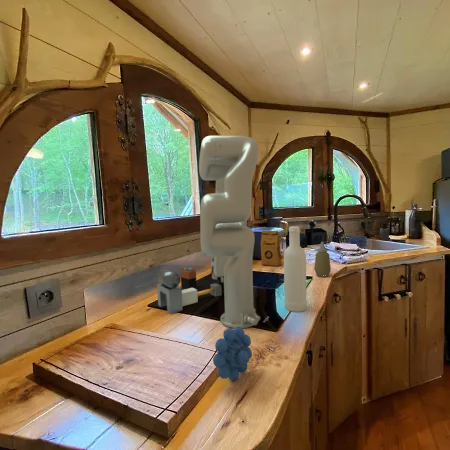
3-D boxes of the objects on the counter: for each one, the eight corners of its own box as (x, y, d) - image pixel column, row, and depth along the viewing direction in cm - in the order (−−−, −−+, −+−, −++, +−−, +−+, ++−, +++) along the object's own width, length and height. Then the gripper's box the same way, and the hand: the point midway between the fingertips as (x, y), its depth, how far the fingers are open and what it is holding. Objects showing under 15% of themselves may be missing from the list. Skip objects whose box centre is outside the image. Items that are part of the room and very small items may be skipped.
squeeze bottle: (313, 277, 136) (313, 242, 135) (314, 273, 144) (314, 240, 143) (330, 278, 133) (330, 243, 132) (330, 274, 141) (330, 240, 139)
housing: (183, 310, 99) (181, 272, 98) (169, 314, 95) (167, 275, 94) (170, 302, 108) (168, 267, 107) (157, 305, 104) (155, 269, 103)
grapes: (230, 403, 51) (228, 343, 50) (207, 387, 56) (205, 332, 55) (265, 374, 60) (264, 323, 59) (242, 362, 64) (241, 315, 63)
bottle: (287, 302, 103) (285, 225, 100) (308, 305, 99) (307, 225, 97) (282, 310, 95) (280, 227, 93) (304, 313, 92) (303, 227, 90)
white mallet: (221, 295, 114) (221, 283, 113) (179, 307, 102) (179, 294, 101) (216, 292, 117) (215, 281, 117) (175, 304, 105) (174, 291, 105)
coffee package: (277, 267, 160) (276, 231, 158) (259, 265, 167) (258, 231, 165) (283, 264, 168) (283, 230, 166) (265, 262, 175) (265, 229, 173)
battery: (189, 291, 120) (188, 269, 120) (180, 288, 125) (179, 267, 125) (197, 289, 123) (196, 268, 123) (188, 286, 128) (187, 266, 128)
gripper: (212, 252, 108) (213, 296, 109) (240, 248, 117) (241, 288, 118) (202, 250, 114) (204, 291, 115) (230, 246, 123) (231, 284, 124)
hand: (223, 290), depth 117 cm, fingers closed
